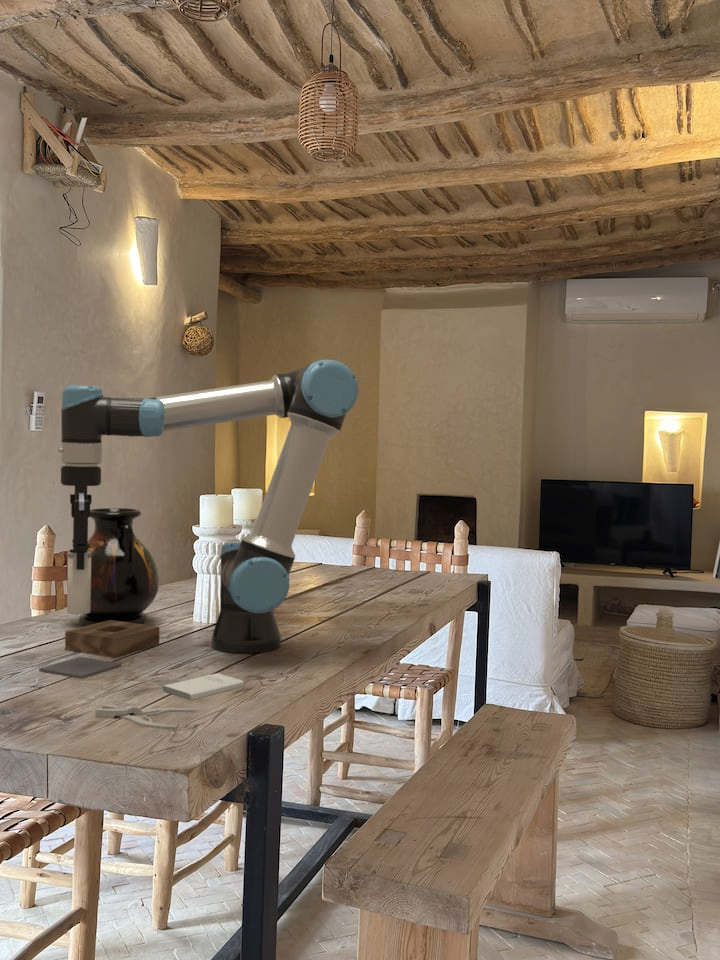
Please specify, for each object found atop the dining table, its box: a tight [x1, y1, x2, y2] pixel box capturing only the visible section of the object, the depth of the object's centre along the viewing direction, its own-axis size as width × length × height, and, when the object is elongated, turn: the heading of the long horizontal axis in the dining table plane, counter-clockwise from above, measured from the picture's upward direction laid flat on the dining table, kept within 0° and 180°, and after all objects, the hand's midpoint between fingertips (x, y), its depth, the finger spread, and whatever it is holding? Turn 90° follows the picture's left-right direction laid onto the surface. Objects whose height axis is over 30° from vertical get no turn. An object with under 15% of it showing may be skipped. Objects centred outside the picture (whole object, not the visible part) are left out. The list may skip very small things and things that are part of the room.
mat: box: [38, 656, 123, 679], centre depth 179 cm, size 11×11×1 cm
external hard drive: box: [162, 672, 245, 701], centre depth 166 cm, size 2×8×12 cm
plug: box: [66, 550, 92, 615], centre depth 178 cm, size 4×4×12 cm
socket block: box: [64, 620, 160, 658], centre depth 197 cm, size 14×14×4 cm
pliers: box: [94, 704, 196, 730], centre depth 149 cm, size 10×2×15 cm
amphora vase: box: [66, 507, 160, 627], centre depth 220 cm, size 22×22×28 cm
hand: (79, 583), depth 178 cm, fingers closed on plug, 4 cm apart
